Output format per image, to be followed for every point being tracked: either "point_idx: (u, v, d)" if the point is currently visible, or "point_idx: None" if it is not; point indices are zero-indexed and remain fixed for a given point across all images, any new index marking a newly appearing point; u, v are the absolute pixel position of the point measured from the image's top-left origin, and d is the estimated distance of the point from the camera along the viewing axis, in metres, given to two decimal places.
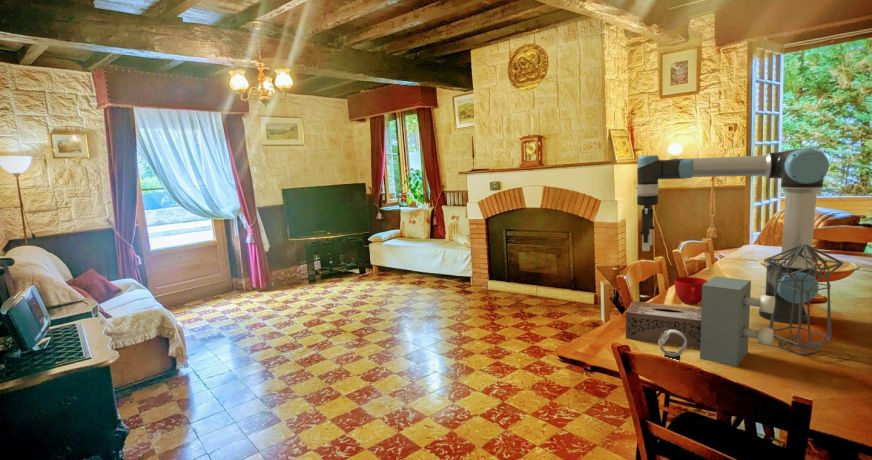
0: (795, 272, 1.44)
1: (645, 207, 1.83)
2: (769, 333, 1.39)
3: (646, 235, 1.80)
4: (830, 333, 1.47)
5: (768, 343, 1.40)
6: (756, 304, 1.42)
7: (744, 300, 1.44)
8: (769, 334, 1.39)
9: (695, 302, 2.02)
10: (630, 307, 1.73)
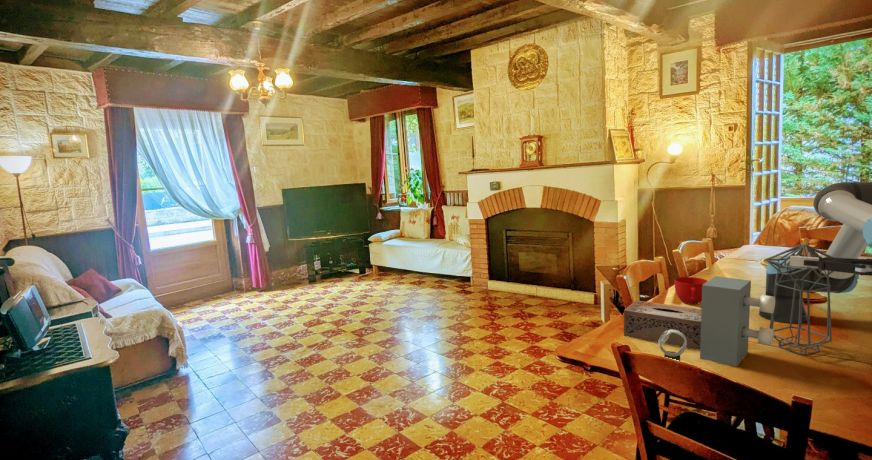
0: (795, 272, 1.44)
1: None
2: (769, 333, 1.39)
3: (816, 265, 1.30)
4: (830, 333, 1.47)
5: (768, 343, 1.40)
6: (756, 304, 1.42)
7: (744, 300, 1.44)
8: (769, 334, 1.39)
9: (695, 302, 2.02)
10: (631, 306, 1.74)
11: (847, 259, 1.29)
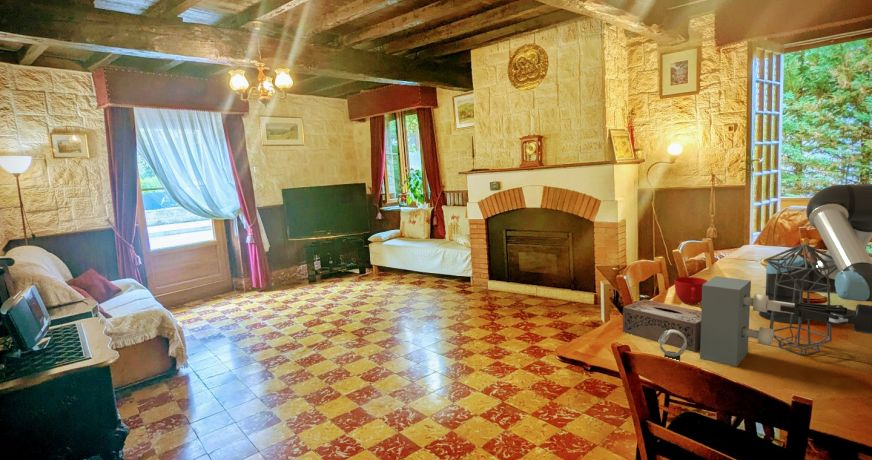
0: (795, 272, 1.44)
1: (850, 319, 1.24)
2: (769, 333, 1.39)
3: (792, 311, 1.35)
4: (830, 333, 1.47)
5: (768, 343, 1.40)
6: (750, 303, 1.43)
7: None
8: (769, 334, 1.39)
9: (695, 302, 2.02)
10: (633, 304, 1.77)
11: (820, 305, 1.34)
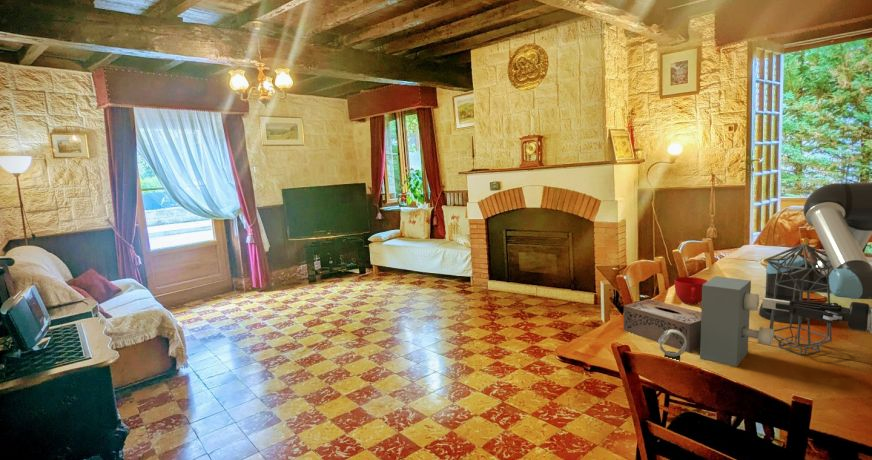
0: (795, 272, 1.44)
1: (844, 316, 1.25)
2: (769, 333, 1.39)
3: (787, 308, 1.36)
4: (830, 333, 1.47)
5: (768, 343, 1.40)
6: None
7: None
8: (769, 334, 1.39)
9: (695, 302, 2.02)
10: (636, 303, 1.78)
11: (816, 303, 1.35)
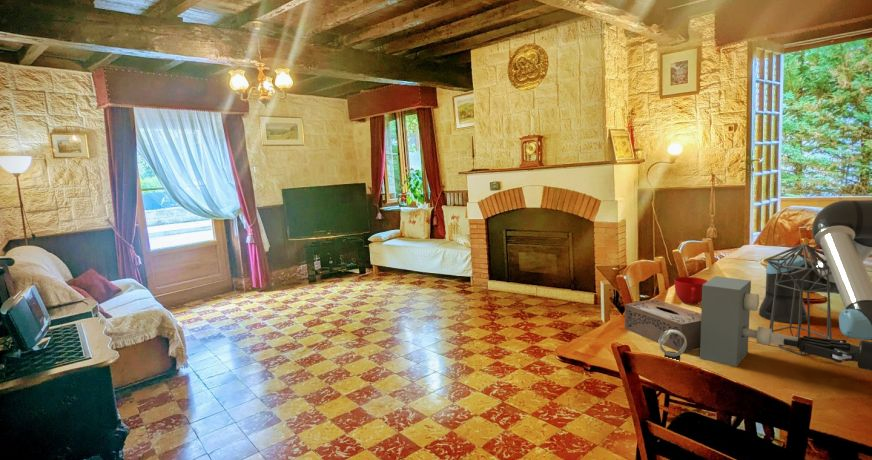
0: (795, 272, 1.44)
1: (854, 356, 1.25)
2: (767, 333, 1.40)
3: (795, 345, 1.35)
4: (830, 333, 1.47)
5: (766, 343, 1.40)
6: None
7: None
8: (767, 334, 1.40)
9: (695, 302, 2.02)
10: (639, 302, 1.78)
11: (824, 340, 1.35)
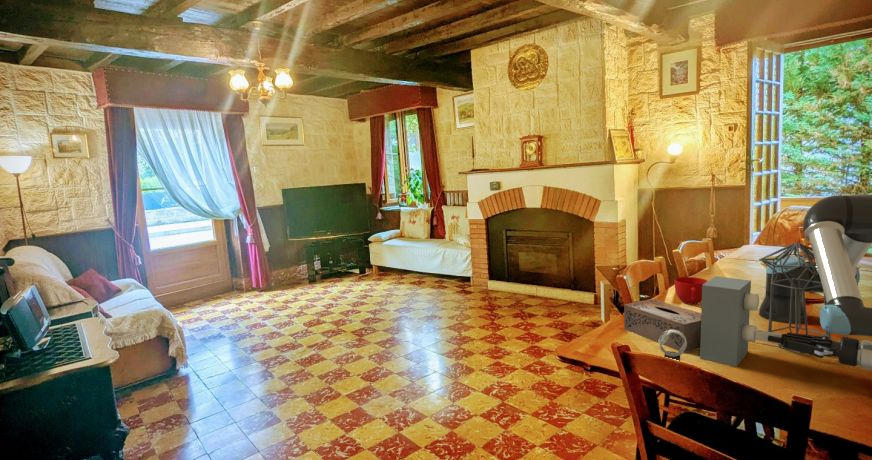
0: (789, 270, 1.45)
1: (835, 351, 1.28)
2: (752, 330, 1.42)
3: (779, 341, 1.38)
4: None
5: (751, 340, 1.43)
6: None
7: None
8: (752, 331, 1.42)
9: (695, 302, 2.02)
10: (638, 302, 1.78)
11: (807, 336, 1.37)
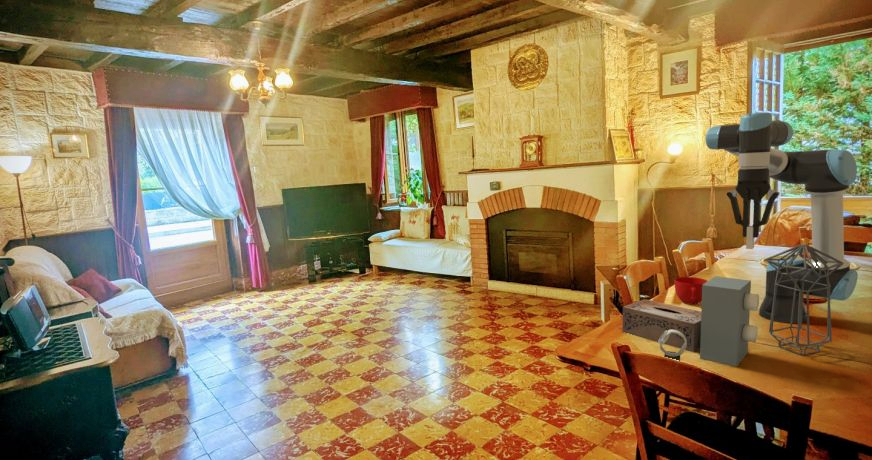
0: (794, 272, 1.44)
1: None
2: (753, 330, 1.42)
3: None
4: (830, 333, 1.47)
5: (752, 340, 1.43)
6: None
7: None
8: (753, 331, 1.42)
9: (695, 302, 2.02)
10: (633, 303, 1.77)
11: None
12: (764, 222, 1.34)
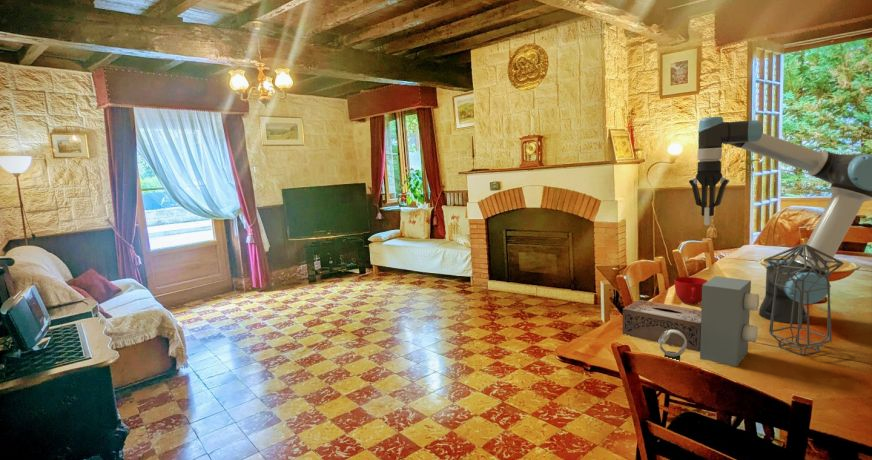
0: (794, 272, 1.44)
1: None
2: (753, 330, 1.42)
3: None
4: (830, 333, 1.47)
5: (752, 340, 1.43)
6: None
7: None
8: (753, 331, 1.42)
9: (695, 302, 2.02)
10: (631, 304, 1.75)
11: None
12: (717, 203, 1.70)
